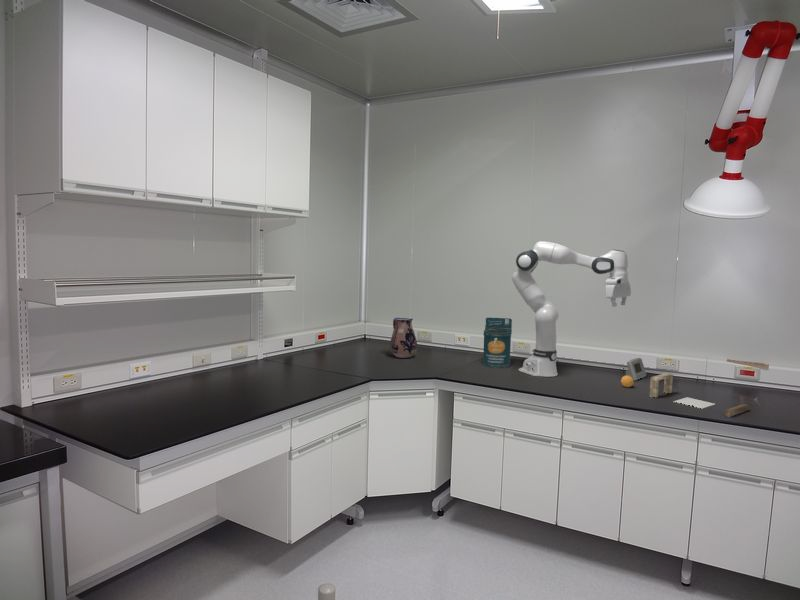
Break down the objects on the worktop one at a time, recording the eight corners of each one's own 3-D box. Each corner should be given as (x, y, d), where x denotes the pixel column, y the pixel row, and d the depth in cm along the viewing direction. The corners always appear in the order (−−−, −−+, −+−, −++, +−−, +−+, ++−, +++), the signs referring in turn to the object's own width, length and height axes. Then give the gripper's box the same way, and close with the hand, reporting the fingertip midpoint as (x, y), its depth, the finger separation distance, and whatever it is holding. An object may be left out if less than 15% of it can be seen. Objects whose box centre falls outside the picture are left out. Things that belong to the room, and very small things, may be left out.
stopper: (724, 416, 227) (724, 410, 227) (742, 409, 238) (743, 403, 237) (729, 417, 226) (729, 411, 225) (747, 410, 236) (748, 404, 236)
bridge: (649, 396, 256) (650, 377, 255) (665, 392, 265) (667, 373, 264) (655, 398, 254) (656, 378, 253) (671, 393, 262) (673, 374, 261)
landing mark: (673, 401, 248) (673, 401, 248) (687, 397, 255) (687, 397, 255) (701, 408, 237) (701, 408, 237) (715, 404, 245) (715, 403, 245)
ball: (618, 386, 275) (618, 375, 274) (624, 384, 278) (625, 373, 278) (629, 389, 270) (629, 377, 269) (635, 387, 273) (636, 376, 273)
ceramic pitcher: (402, 360, 330) (402, 321, 328) (381, 355, 346) (381, 317, 344) (422, 357, 342) (423, 319, 339) (401, 352, 358) (401, 315, 355)
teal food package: (510, 363, 328) (512, 318, 326) (509, 368, 313) (510, 321, 310) (484, 361, 332) (485, 317, 330) (481, 366, 317) (483, 320, 314)
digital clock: (634, 381, 285) (635, 362, 284) (619, 378, 293) (620, 359, 292) (651, 378, 294) (652, 359, 293) (636, 374, 302) (637, 356, 301)
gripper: (622, 279, 291) (622, 303, 292) (603, 280, 278) (603, 307, 279) (633, 279, 286) (633, 304, 288) (614, 281, 273) (614, 307, 274)
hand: (618, 305), depth 283 cm, fingers open, 8 cm apart
